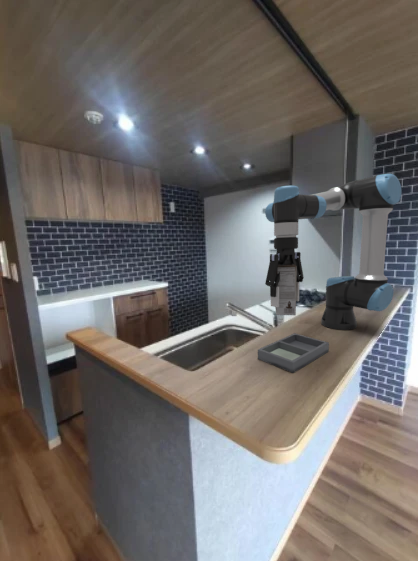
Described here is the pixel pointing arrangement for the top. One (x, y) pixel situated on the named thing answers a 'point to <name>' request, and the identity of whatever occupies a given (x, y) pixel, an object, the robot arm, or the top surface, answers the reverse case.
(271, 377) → the top surface
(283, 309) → the coffee box
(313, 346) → the compartment tray
